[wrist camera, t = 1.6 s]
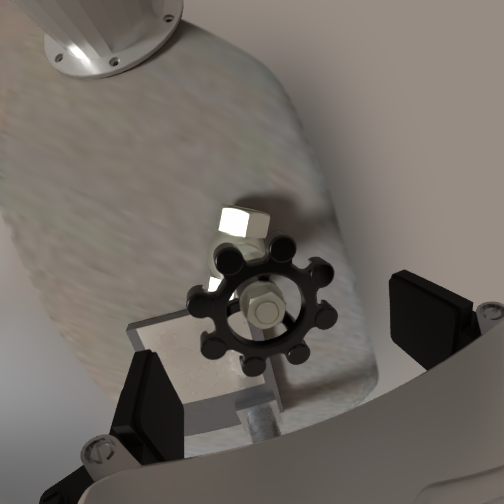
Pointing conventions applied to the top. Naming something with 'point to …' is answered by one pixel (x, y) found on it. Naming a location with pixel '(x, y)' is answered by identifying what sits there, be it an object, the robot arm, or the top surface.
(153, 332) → the press
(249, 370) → the valve
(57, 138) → the top surface
